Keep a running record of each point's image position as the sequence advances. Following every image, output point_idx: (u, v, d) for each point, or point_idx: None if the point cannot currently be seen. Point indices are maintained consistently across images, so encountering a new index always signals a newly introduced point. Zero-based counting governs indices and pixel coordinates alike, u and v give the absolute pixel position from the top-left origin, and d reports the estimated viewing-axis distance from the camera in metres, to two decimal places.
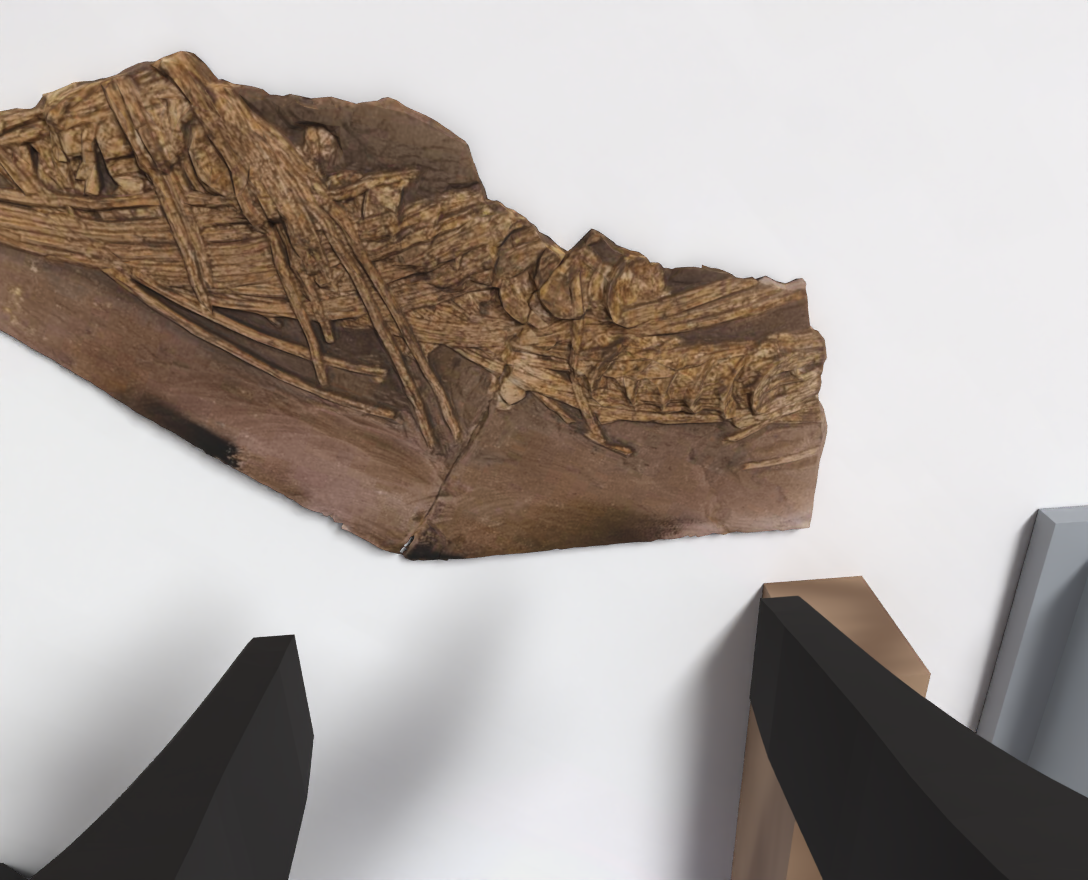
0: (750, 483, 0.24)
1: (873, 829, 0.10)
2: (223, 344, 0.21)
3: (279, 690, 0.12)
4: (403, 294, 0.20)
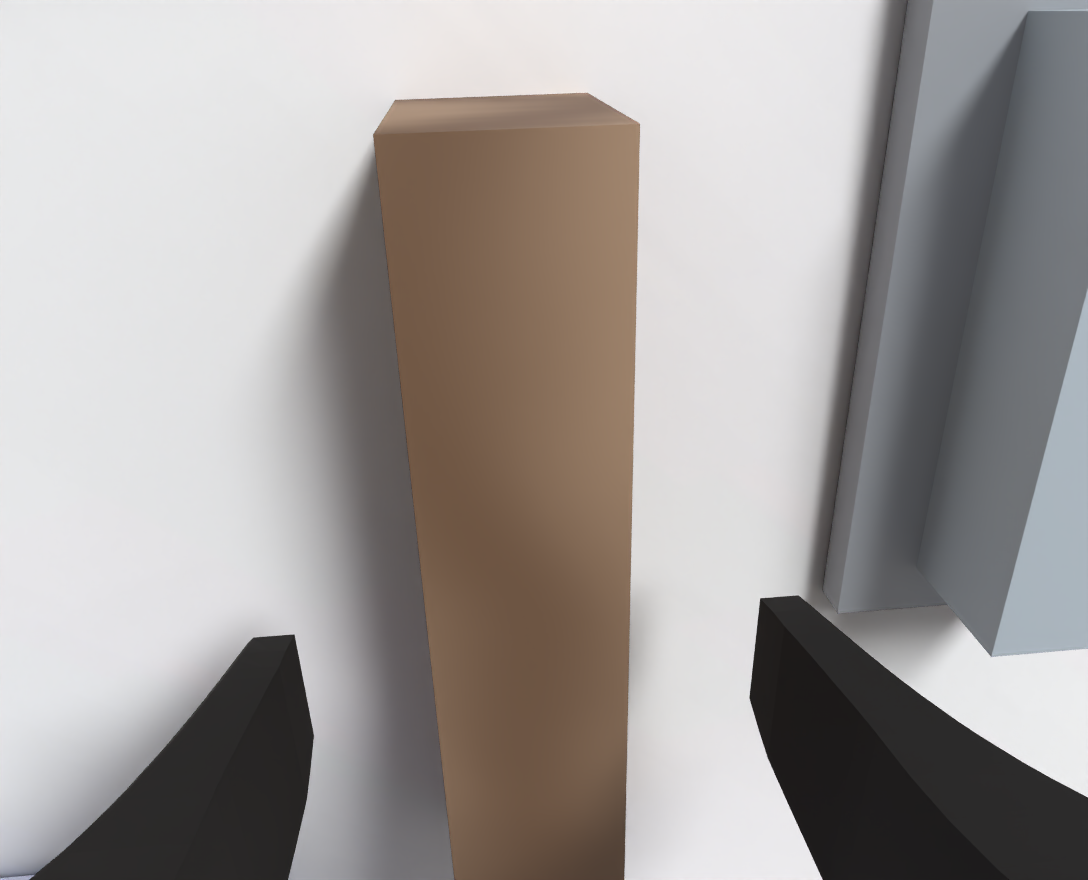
0: None
1: (873, 829, 0.10)
2: None
3: (279, 690, 0.12)
4: None
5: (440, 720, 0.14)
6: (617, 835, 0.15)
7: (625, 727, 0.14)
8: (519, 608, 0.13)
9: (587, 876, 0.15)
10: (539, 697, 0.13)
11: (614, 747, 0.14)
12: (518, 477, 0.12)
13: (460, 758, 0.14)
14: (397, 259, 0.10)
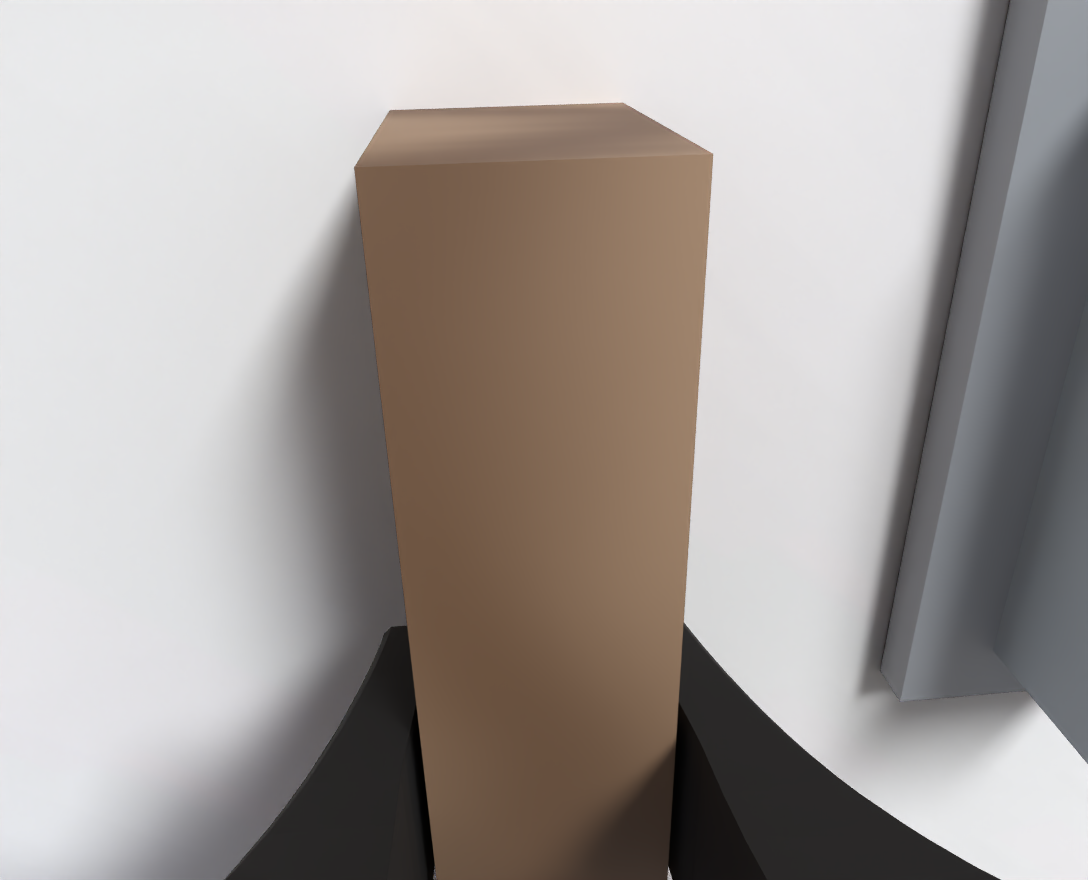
0: None
1: (704, 845, 0.10)
2: None
3: None
4: None
5: (440, 873, 0.11)
6: None
7: (665, 877, 0.11)
8: (539, 747, 0.10)
9: None
10: (561, 846, 0.11)
11: None
12: (541, 595, 0.09)
13: None
14: (387, 330, 0.08)
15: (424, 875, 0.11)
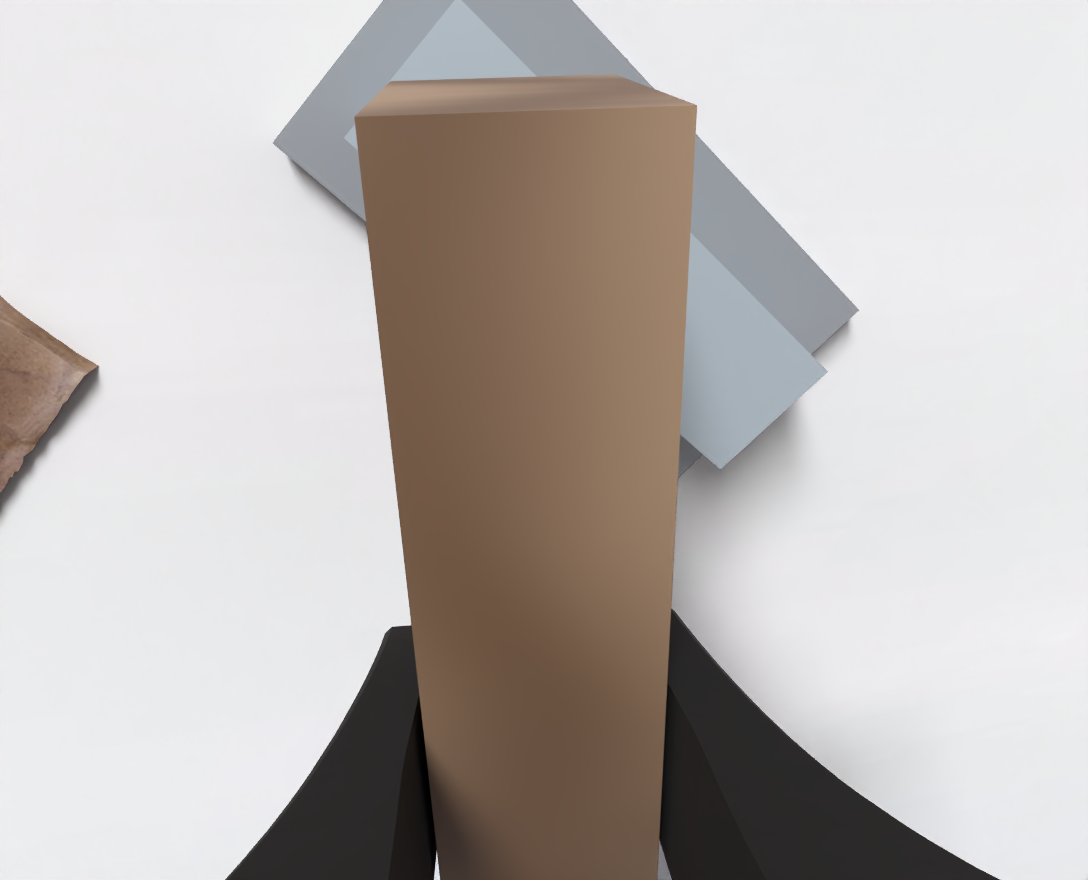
0: None
1: (704, 846, 0.10)
2: None
3: None
4: None
5: (437, 822, 0.11)
6: None
7: (657, 829, 0.12)
8: (534, 696, 0.10)
9: None
10: (556, 795, 0.11)
11: (643, 850, 0.12)
12: (534, 541, 0.10)
13: (461, 864, 0.12)
14: (385, 276, 0.08)
15: (425, 875, 0.11)
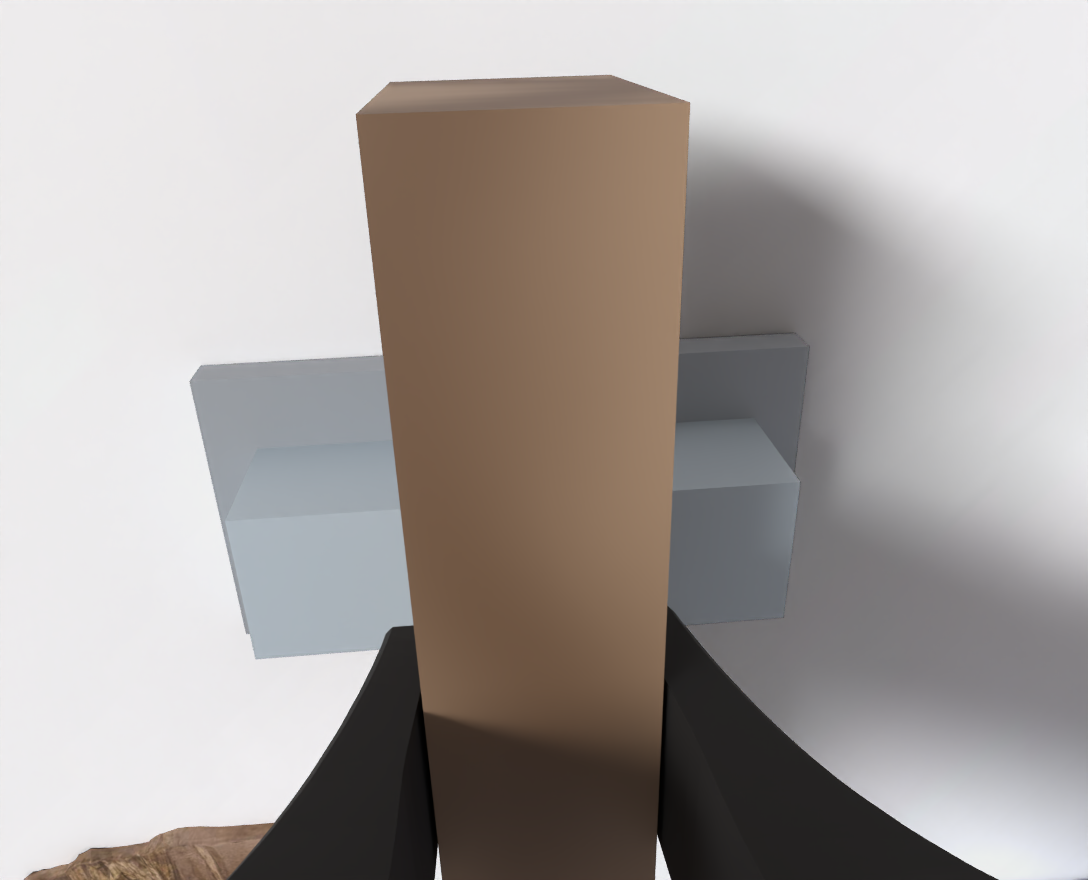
0: None
1: (703, 846, 0.10)
2: None
3: None
4: None
5: (438, 811, 0.11)
6: None
7: (655, 818, 0.12)
8: (532, 684, 0.11)
9: None
10: (555, 785, 0.11)
11: (642, 840, 0.12)
12: (533, 532, 0.10)
13: (461, 854, 0.12)
14: (386, 271, 0.08)
15: (425, 875, 0.11)
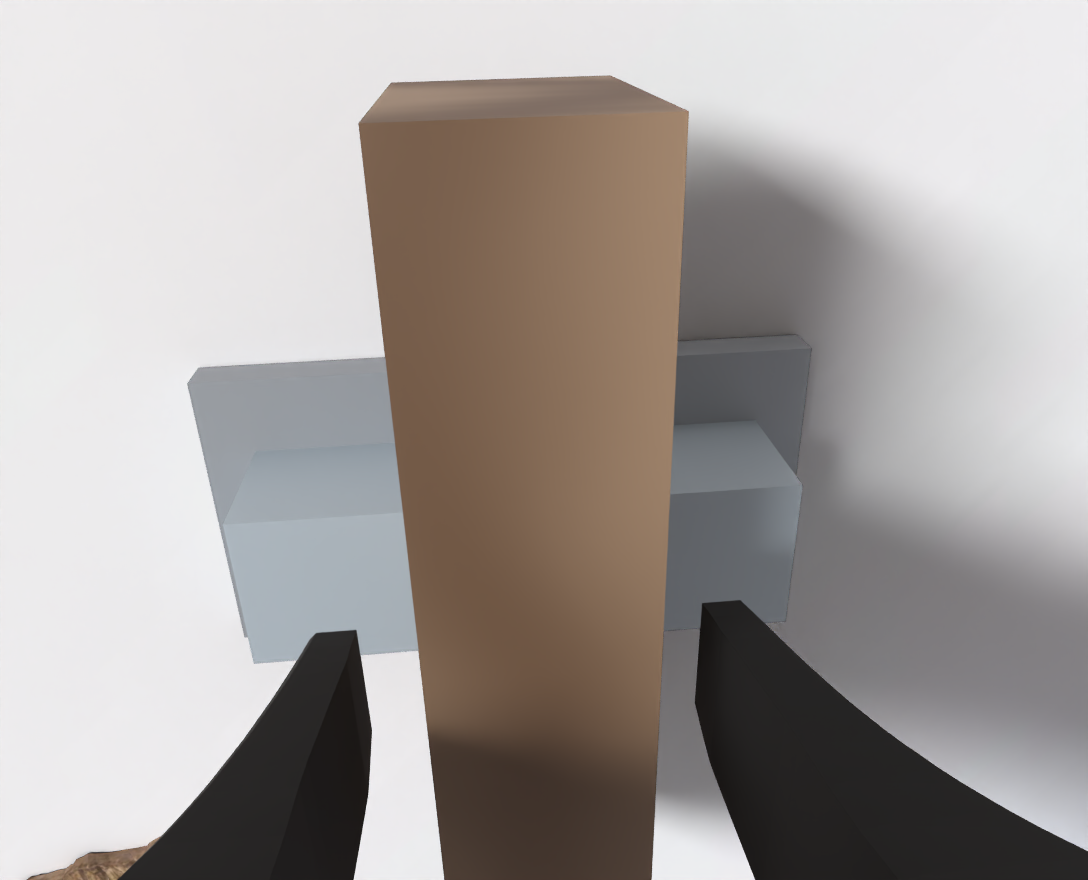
0: None
1: (798, 836, 0.10)
2: None
3: (346, 684, 0.12)
4: None
5: (439, 803, 0.12)
6: None
7: (652, 809, 0.12)
8: (532, 680, 0.11)
9: None
10: (554, 778, 0.12)
11: (639, 831, 0.12)
12: (533, 532, 0.10)
13: (462, 844, 0.12)
14: (388, 276, 0.08)
15: None
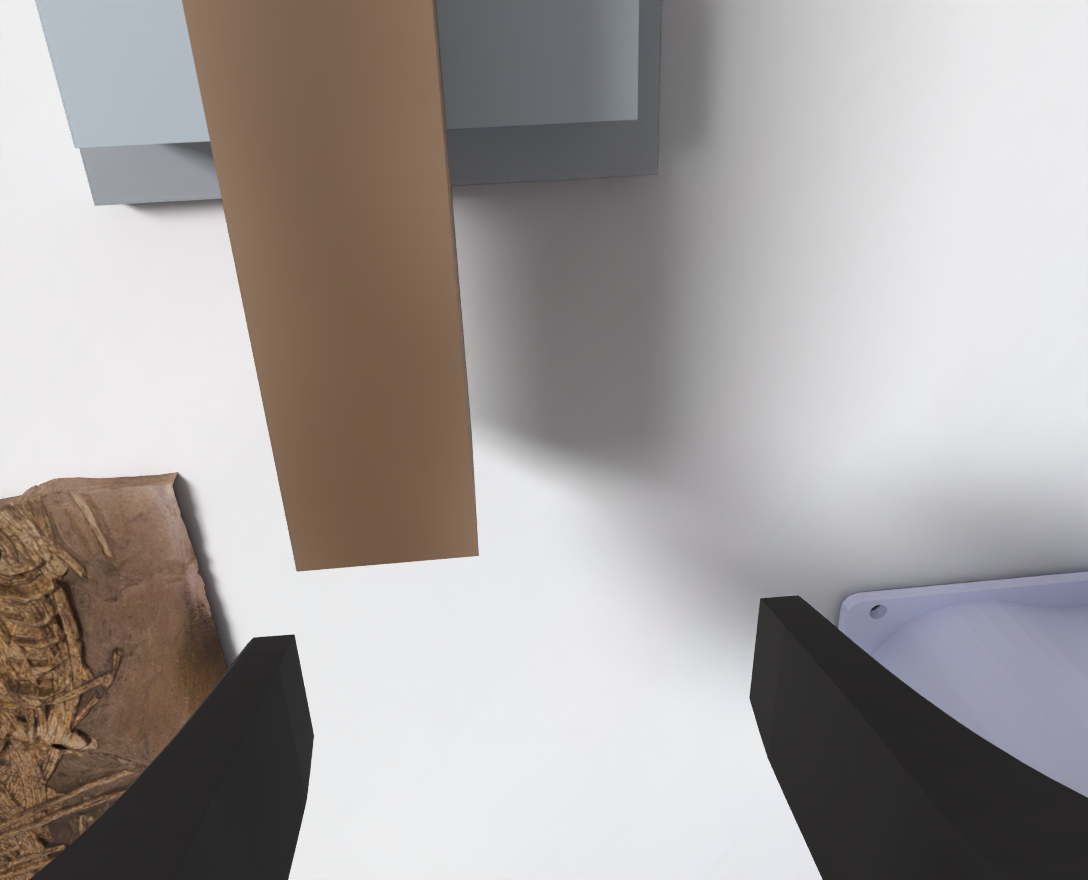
0: (129, 549, 0.23)
1: (873, 829, 0.10)
2: None
3: (279, 690, 0.12)
4: (7, 811, 0.26)
5: (205, 95, 0.11)
6: (448, 306, 0.13)
7: (439, 123, 0.11)
8: None
9: (418, 373, 0.13)
10: (326, 64, 0.11)
11: (429, 158, 0.12)
12: None
13: (238, 162, 0.11)
14: None
15: None
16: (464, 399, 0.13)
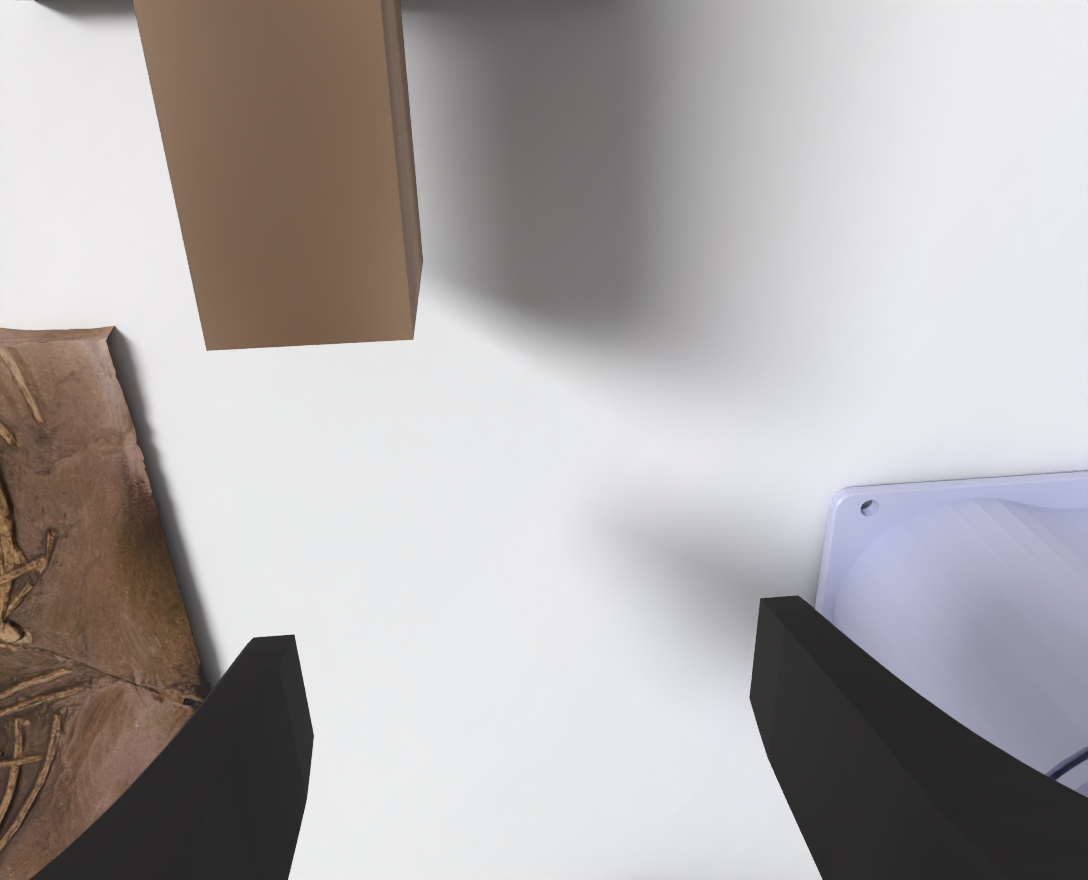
0: (61, 413, 0.21)
1: (873, 829, 0.10)
2: (21, 813, 0.27)
3: (279, 690, 0.12)
4: None
5: None
6: (370, 12, 0.11)
7: None
8: None
9: (339, 98, 0.11)
10: None
11: None
12: None
13: None
14: None
15: None
16: (392, 136, 0.12)
